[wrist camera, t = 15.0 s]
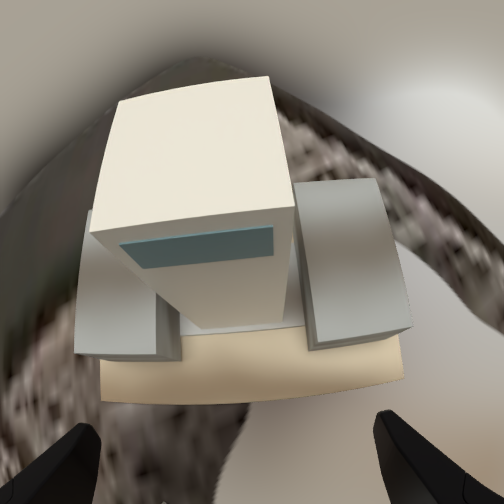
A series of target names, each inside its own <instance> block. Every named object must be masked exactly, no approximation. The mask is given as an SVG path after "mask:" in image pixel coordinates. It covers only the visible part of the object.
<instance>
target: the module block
mask: <svg viewBox="0 0 504 504" xmlns="http://www.w3.org/2000/svg"><path fill="white" fill-rule="evenodd" d="M294 211H295V203H294V198H293V192H292V187H291V182H290V176H289V171H288V166H287V161H286V156H285V151H284V146H283V141H282V136H281V131H280V126H279V122H278V117H277V112H276V108H275V103H274V99H273V94H272V90H271V85H270V81H269V77H268V76H265V77H254V78H244V79H235V80H227V81H219V82H212V83H205V84H199V85H193V86H187V87H182V88H176V89H171V90H166V91H161V92H157V93H152V94H148V95H143V96H139V97H135V98H131V99H127V100H123V101H119V104H118V107H117V110H116V114H115V117H114V120H113V124H112V127H111V131H110V135H109V138H108V142H107V146H106V150H105V154H104V158H103V162H102V167H101V171H100V176H99V180H98V185H97V190H96V195H95V200H94V205H93V211H92V217H91V223H90V229H89V233H90V234H91V235H92V236H93V237H95V238H96V239H97V240H98V241H99V242H100V243H101V244H102V245H103V246H104V247H105V248H106V249H107V250H108V251H109V252H111V253H112V254H113V255H114V256H115V257H116V258H117V259H118V260H119V261H120V262H122V263H123V264H124V265H125V266H126V267H127V268H128V269H129V270H131V271H132V272H133V273H134V274H135V275H136V276H137V277H139V278H140V279H141V280H142V281H143V282H144V283H145V284H147V285H148V286H149V287H150V288H151V289H152V290H154V291H155V292H156V293H157V294H158V295H160V296H161V297H162V298H163V299H164V300H166V301H167V302H168V303H169V304H170V305H172V306H173V307H174V308H175V309H176V310H178V311H179V312H180V313H181V314H183V315H184V316H185V317H186V318H188V319H189V320H190V321H191V322H193V323H194V324H195V325H196V326H198V327H199V328H200V329H201V330H203V329H216V328H229V327H240V326H251V325H261V324H271V323H280V322H282V320H283V312H284V304H285V296H286V287H287V278H288V269H289V260H290V251H291V241H292V231H293V221H294Z"/></svg>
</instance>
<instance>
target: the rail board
mask: <svg viewBox="0 0 504 504" xmlns="http://www.w3.org/2000/svg"><path fill="white" fill-rule="evenodd" d="M292 192H293V198H294V203H295V211H294V221H293V231H292V241H291V251H290V260H289V269H288V278H287V287H286V296H285V304H284V312H283V320H282V322H280V323H271V324H261V325H251V326H240V327H229V328H216V329H203V330H201V329H200V328H199V327H198V326H196V325H195V324H194V323H193V322H191V321H190V320H189V319H188V318H186V317H185V316H184V315H183V314H181V313H180V312H179V311H178V310H176V309H175V308H174V307H173V306H172V305H170V304H169V303H168V302H167V301H166V300H164V299H163V298H162V297H161V296H160V295H158V294H157V293H156V292H155V291H154V290H152V289H151V288H150V287H149V286H148V285H147V284H145V283H144V282H143V281H142V280H141V279H140V278H139V277H137V276H136V275H135V274H134V273H133V272H132V271H131V270H129V269H128V268H127V267H126V266H125V265H124V264H123V263H122V262H120V261H119V260H118V259H117V258H116V257H115V256H114V255H113V254H112V253H111V252H109V251H108V250H107V249H106V248H105V247H104V246H103V245H102V244H101V243H100V242H99V241H98V240H97V239H96V238H95V237H93V236H92V235H91V234H90V233H89V229H90V223H91V217H92V211H93V210H89V212H88V218H87V223H86V229H85V235H84V242H83V248H82V256H81V263H80V272H79V281H78V291H77V302H76V317H75V337H74V353H76V354H80V355H84V356H89V357H93V358H97V359H100V381H101V401H110V402H123V403H140V404H175V405H194V404H229V403H247V402H260V401H271V400H281V399H291V398H300V397H308V396H315V395H322V394H329V393H335V392H341V391H347V390H352V389H358V388H363V387H368V386H373V385H378V384H383V383H388V382H392V381H396V380H400V379H404V372H403V364H402V358H401V351H400V344H399V338H398V333H401V332H403V331H405V330H407V329H409V328H411V327H413V322H412V316H411V310H410V305H409V301H408V296H407V291H406V287H405V282H404V277H403V273H402V269H401V265H400V261H399V257H398V253H397V250H396V245H395V241H394V238H393V234H392V230H391V227H390V223H389V220H388V217H387V213H386V210H385V207H384V203H383V200H382V197H381V194H380V191H379V188H378V185H377V182H376V179H375V178H365V179H346V180H330V181H315V182H302V183H294V185H293V191H292Z"/></svg>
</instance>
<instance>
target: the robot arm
mask: <svg viewBox="0 0 504 504" xmlns="http://www.w3.org/2000/svg"><path fill="white" fill-rule="evenodd" d="M373 434H374V439H375V444H376V449H377V454H378V459H379V464H380V469H381V474H382V477H383V481H384V483H385V487H386V490H387V493H388V496H389V499H390V502H391V504H504V498H503V497H502V496H500V495H498V494H496V493H495V492H493V491H492V490H490V489H488V488H487V487H485V486H484V485H483V484H481V483H480V482H479V481H477V480H476V479H475V478H473V477H472V476H471V475H469V474H468V473H465V471H464V470H463V469H462V468H461V467H459V466H458V465H457V464H456V463H454V462H453V461H452V460H451V459H450V458H448V457H447V456H446V455H444V454H443V453H442V452H441V451H440V450H439V449H437V448H436V447H435V446H434V445H432V444H431V443H430V442H429V441H428V440H426V439H425V438H424V437H423V436H422V435H421V434H419V433H418V432H417V431H416V430H414V429H413V428H412V427H411V426H410V425H409V424H407V423H406V422H405V421H404V420H403V419H402V418H400V417H399V416H398V415H397V414H396V413H394V412H393V411H392V410H384V411H380V412H378V413H377V415H376V419H375V423H374V427H373ZM100 451H101V439H100V437H99V435H98V434H97V432H96V431H95V429H94V428H93V426H92V425H91V424H88V423H78V424H77V425H76V426H75V427H73V428H72V429H71V430H70V431H69V432H68V433H66V434H65V435H64V436H63V437H62V438H60V439H59V440H58V441H57V442H56V443H54V444H53V445H52V446H51V447H50V448H49V449H47V450H46V451H45V452H44V453H43V454H41V455H40V456H39V457H38V458H37V459H35V460H34V461H33V462H32V463H30V464H29V465H28V466H27V467H26V468H24V469H23V470H22V471H21V472H20V473H18V474H17V475H16V476H15V477H14V479H13V478H12V479H11V480H10V481H9V482H7V483H6V484H5V485H3V486H2V487H1V488H0V504H92V501H93V496H94V492H95V487H96V482H97V476H98V467H99V459H100Z"/></svg>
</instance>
